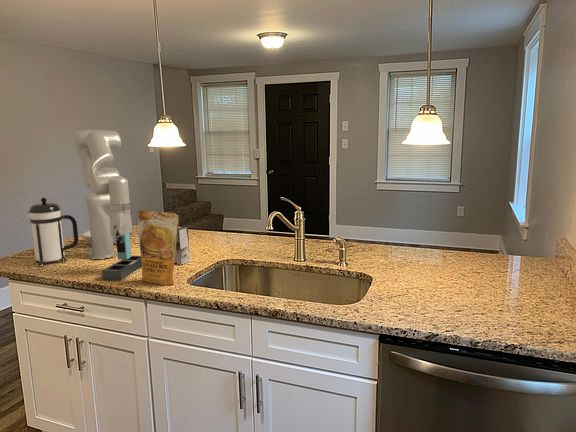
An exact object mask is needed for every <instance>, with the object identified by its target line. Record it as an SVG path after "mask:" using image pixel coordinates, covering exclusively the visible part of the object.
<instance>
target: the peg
mask: <svg viewBox="0 0 576 432" xmlns="http://www.w3.org/2000/svg"><path fill="white" fill-rule="evenodd" d="M118 235H120V234H118ZM118 238H120V239H121V237H118ZM123 243H124V245H125V252H117V251H116V252H117V260H122V259H128V258H130V257H132V256H133V255H132V247H131V235H130V232H128V233H125V235H123Z"/></svg>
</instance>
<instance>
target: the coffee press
mask: <svg viewBox="0 0 576 432" xmlns="http://www.w3.org/2000/svg"><path fill="white" fill-rule="evenodd" d="M61 211H62V207H60V205H59V204H58V203H56V202H47V198H46V197H41V199H40V202H39V203H35V204H32V205H31V206H30V207H29V209H28V212H27V213H26V216H25V218H29V221H30V225H31V235H32V241H33V249H34V257H35V259H34V261H35V260H37V261H39V262H38V266H39V265H42V264H44V265H45V264H46V263H51V262H56V261H57V262H58V261H60V262H61V261H64V262H65V261H66V262H67V258H66V257H65V256H66V255H65V253H66V252H65V251H67V250H70V249H73V248H76V246H77V245H78V242H79V232H78V224H77V221H76V218H75V217H74V216H72V215H69V214H64V215H61ZM62 220H70V222H71V224H72V231H73V232H72V234H73V242H72V243H71V244H67V245H65V244H64V243H65V242H64V237H63V236H64V235H63V225H62Z"/></svg>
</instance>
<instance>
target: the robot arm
mask: <svg viewBox="0 0 576 432" xmlns="http://www.w3.org/2000/svg"><path fill="white" fill-rule="evenodd" d="M71 140H72V145H73V146H72V147H73V149H74V151H75V154H76V155H77V157H78V158H79V161H80V164H81V169H82V170H81V171H82V174H83V180H84V183H85V185H86V186H85V187H87V188H88V189H90V190H91V191H90V192H88V193H87V194H86V195H85V197H84V202H85V206H86V211H87V214H88V222H89V231H90V233H91V247H86V248H85V250H84V252H85V253H90V254H89V256H88V258H89V257H90V258H95V259H101V258H109V257H113V256H115V255H117V252H125V245H124V243H123V235H125V233H128V232H130V236H132V235H131V234H132V232H133V222H132V216H131V203H130V202H131V201H130V192H129V191H130V190H129V181H128V178H126V177H124V176H123V175H121V174H120V172H119V170H118V169H117V168H115V167H108V166H111V164H112V163H113V162H114V155H113V152H112V150H119V149H120V148H121V146H122V139H121V136H120V134H119V133H118V131H115V130H109V129H86V130H85V129H84V130H83V129H82V130H78V131H75V132H74V133H73V134H72V139H71ZM105 211H110V214H109V215H110V216H109V215H108V214H107V213H106V212H105ZM118 234H120V235H118ZM118 237H121V239H120V238H118ZM113 239H114V240H115V241H116V243H115V244H116V250H114V249H115V248H114V244H113ZM117 256H118V255H117ZM90 258H89V259H90ZM113 258H114V257H113ZM109 259H110V258H109Z"/></svg>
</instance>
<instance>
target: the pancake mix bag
mask: <svg viewBox="0 0 576 432" xmlns="http://www.w3.org/2000/svg"><path fill="white" fill-rule="evenodd" d="M179 216H180V215H178V214H177V213H176V212H169V211H159V210H146V209H145V210H143V209H142V210H138V211H136V217H137V220H136V221H137V228H138V245H139V252H140V256H141V261H142V268H141V279H142V280H143V282H144V281H145V283H148V282H150V283H149V284H154V283H156V284H155V285H159V284H161V285H160V286H171V285H175V283H174V282H175V281H174V278H173V277H174V272H175V271H174V270H175V264H174V261H175V251H176V243H177V232H178V226H179V224H180V217H179Z"/></svg>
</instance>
